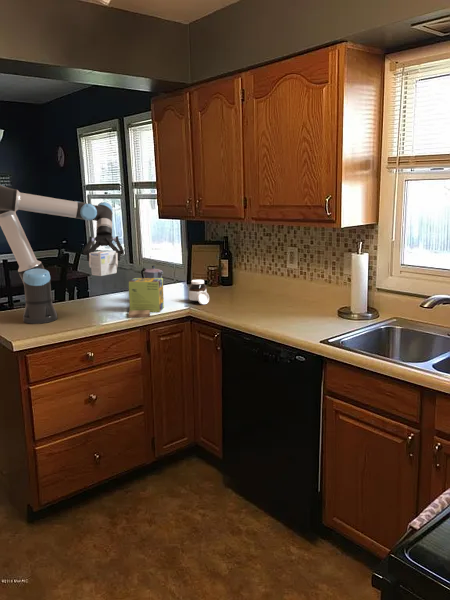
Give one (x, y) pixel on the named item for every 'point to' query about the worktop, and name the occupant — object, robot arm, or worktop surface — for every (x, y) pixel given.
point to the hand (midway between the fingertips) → (103, 265)
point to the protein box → (146, 294)
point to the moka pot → (152, 273)
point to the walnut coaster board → (139, 313)
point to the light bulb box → (103, 262)
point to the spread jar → (198, 292)
